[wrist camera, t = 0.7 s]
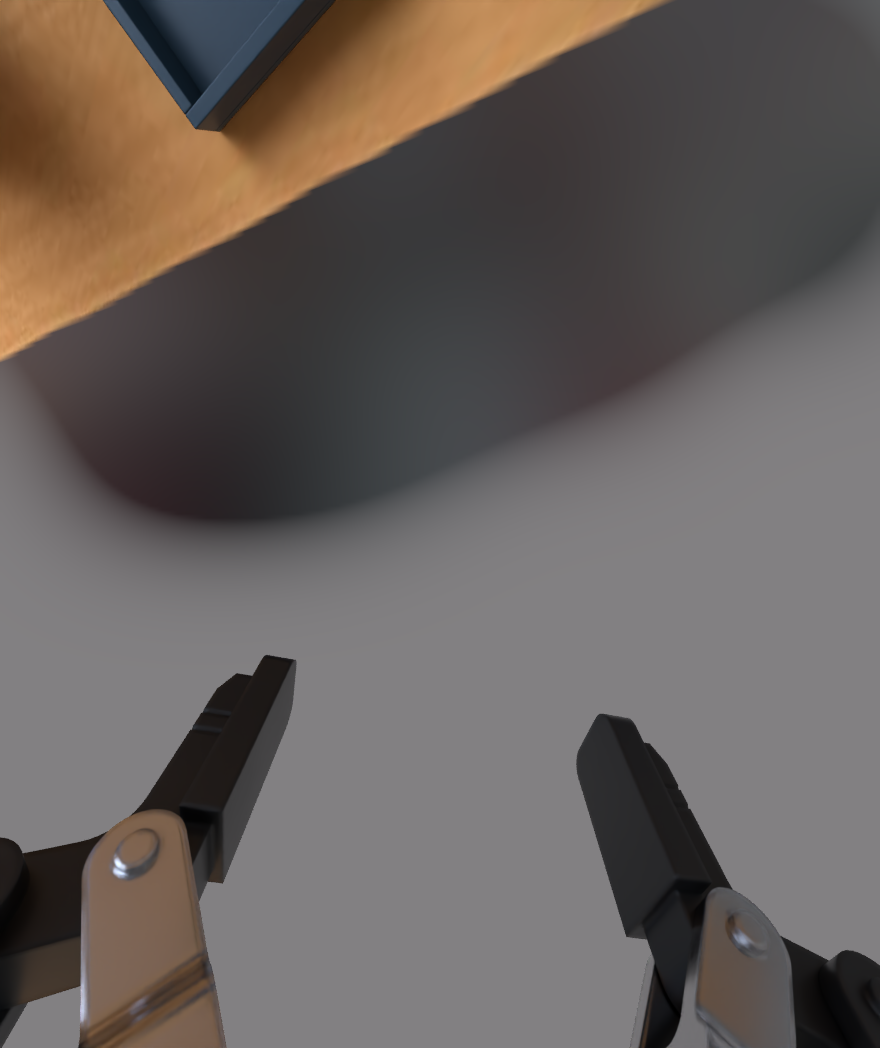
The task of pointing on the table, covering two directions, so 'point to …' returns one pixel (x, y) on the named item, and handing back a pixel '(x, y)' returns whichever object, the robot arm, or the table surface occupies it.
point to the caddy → (215, 47)
